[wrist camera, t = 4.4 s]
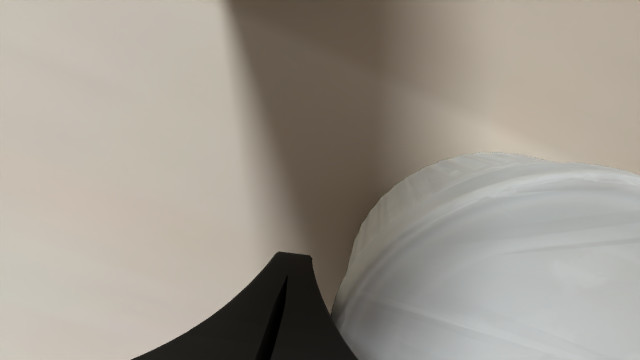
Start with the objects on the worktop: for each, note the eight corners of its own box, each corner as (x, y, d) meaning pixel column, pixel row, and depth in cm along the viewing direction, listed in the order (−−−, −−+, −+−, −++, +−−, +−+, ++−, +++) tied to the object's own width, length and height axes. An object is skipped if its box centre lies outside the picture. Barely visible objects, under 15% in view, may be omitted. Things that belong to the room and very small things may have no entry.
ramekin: (340, 363, 17) (342, 493, 12) (318, 140, 13) (306, 192, 8) (583, 356, 16) (695, 493, 11) (634, 113, 12) (841, 154, 7)
